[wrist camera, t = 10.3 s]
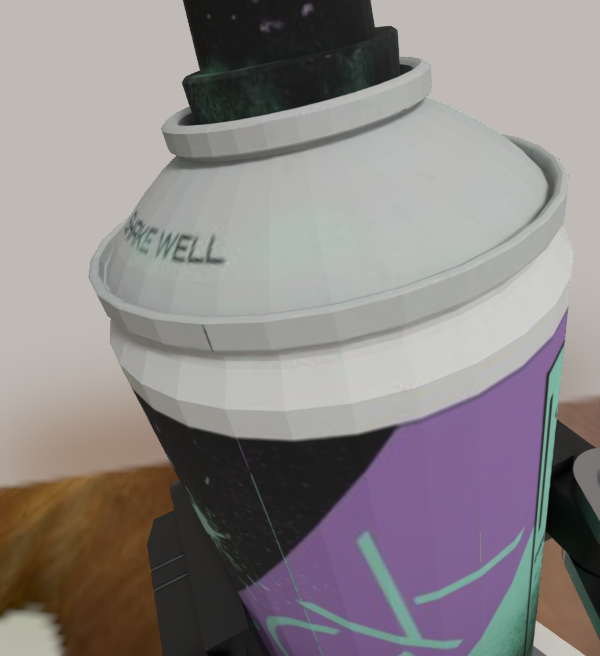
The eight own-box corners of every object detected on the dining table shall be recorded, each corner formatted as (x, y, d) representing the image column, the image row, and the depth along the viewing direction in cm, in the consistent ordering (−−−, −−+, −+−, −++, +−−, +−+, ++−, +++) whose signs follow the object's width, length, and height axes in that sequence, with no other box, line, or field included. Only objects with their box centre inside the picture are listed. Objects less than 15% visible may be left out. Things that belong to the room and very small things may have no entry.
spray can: (344, 639, 18) (134, 2, 7) (503, 656, 17) (530, -110, 6) (323, 852, 14) (-279, 32, 3) (537, 899, 12) (889, -388, 1)
